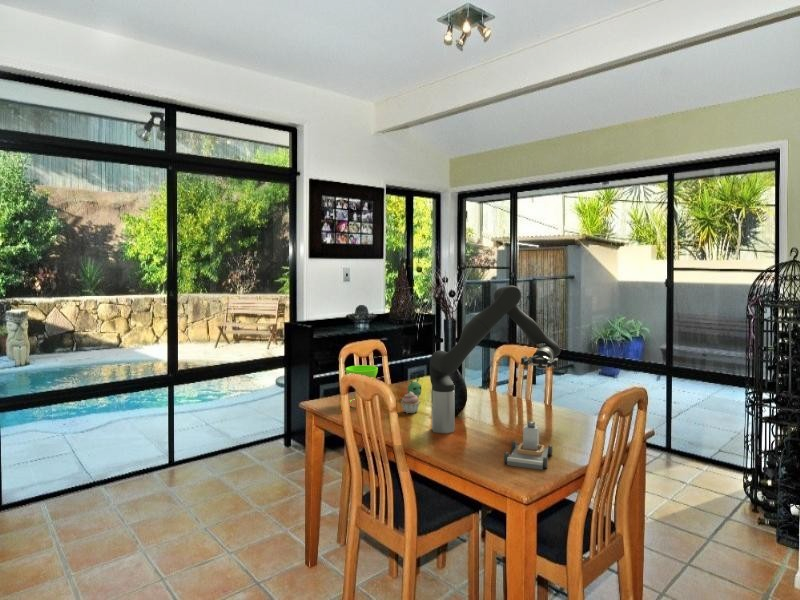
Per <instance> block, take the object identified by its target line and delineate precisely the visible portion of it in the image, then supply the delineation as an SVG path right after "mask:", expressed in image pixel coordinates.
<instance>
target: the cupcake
mask: <svg viewBox="0 0 800 600" xmlns="http://www.w3.org/2000/svg"><path fill="white" fill-rule="evenodd" d="M400 404H401V407H402V408H403V413H404V412H406V413H405V414H408V413H414V414H416V413H415V412H417V413H418V411H419V405H421V401H420V400H419V397H417V396H416V395H414V393H413V392H411V391H409V394H408V393H407V394H404V396H403V397H402V399H401V401H400Z"/></svg>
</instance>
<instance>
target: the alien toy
mask: <svg viewBox="0 0 800 600" xmlns="http://www.w3.org/2000/svg"><path fill="white" fill-rule="evenodd" d="M419 381H420V379H419V378H416V381H413V379H410V380H409V382H410V383H409V384H408V386H407V394H409V391H411V392H413V393H414V395H416V396H417V397H418V398H419V397H420V396H421V393H422V385H421V384H420V383H419Z"/></svg>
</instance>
